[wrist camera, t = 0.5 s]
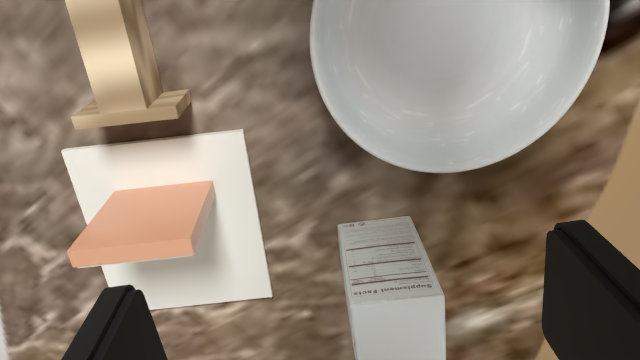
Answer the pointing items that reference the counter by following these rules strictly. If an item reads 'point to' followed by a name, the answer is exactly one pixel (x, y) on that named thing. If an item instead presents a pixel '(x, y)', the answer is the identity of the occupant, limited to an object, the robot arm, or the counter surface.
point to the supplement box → (391, 292)
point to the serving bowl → (452, 74)
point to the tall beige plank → (120, 66)
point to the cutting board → (220, 227)
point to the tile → (145, 225)
